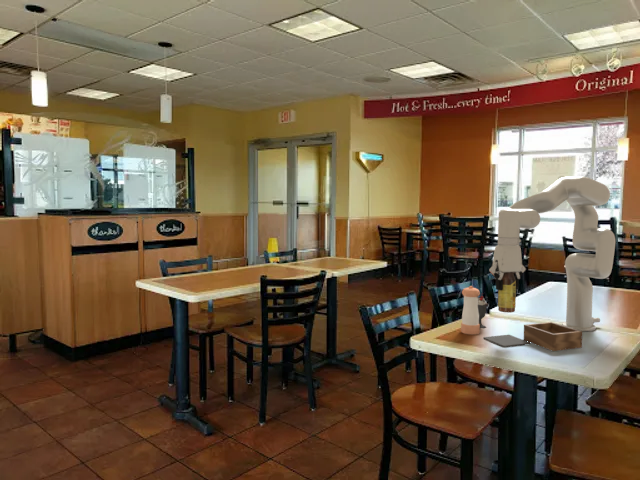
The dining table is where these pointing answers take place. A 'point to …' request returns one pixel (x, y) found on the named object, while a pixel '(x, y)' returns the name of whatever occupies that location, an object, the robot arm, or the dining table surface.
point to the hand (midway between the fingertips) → (506, 289)
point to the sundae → (481, 309)
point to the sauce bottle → (507, 293)
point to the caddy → (553, 336)
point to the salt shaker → (470, 311)
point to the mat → (506, 340)
